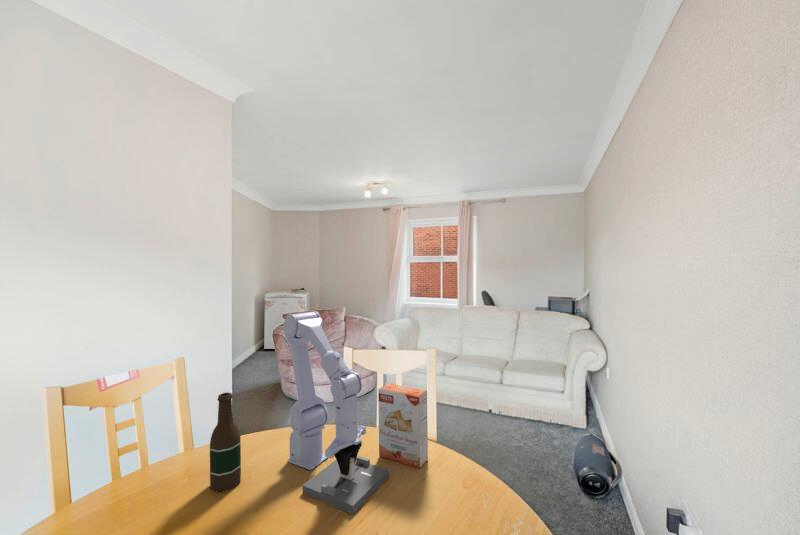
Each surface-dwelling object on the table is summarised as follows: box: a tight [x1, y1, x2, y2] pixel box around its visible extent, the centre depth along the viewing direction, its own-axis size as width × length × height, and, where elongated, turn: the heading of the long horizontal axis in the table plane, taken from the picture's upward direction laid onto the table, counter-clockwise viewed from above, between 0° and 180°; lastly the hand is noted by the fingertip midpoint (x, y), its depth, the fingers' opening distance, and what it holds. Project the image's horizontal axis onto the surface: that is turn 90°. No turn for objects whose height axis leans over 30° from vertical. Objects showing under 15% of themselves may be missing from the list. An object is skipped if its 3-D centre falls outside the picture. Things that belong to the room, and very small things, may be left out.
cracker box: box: [377, 383, 429, 469], centre depth 102 cm, size 14×6×21 cm, turn 61°
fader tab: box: [340, 457, 355, 480], centre depth 90 cm, size 4×2×5 cm, turn 61°
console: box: [302, 455, 390, 515], centre depth 90 cm, size 16×16×4 cm
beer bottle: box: [209, 392, 242, 493], centre depth 91 cm, size 8×8×24 cm
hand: (347, 471), depth 90 cm, fingers closed on fader tab, 2 cm apart
